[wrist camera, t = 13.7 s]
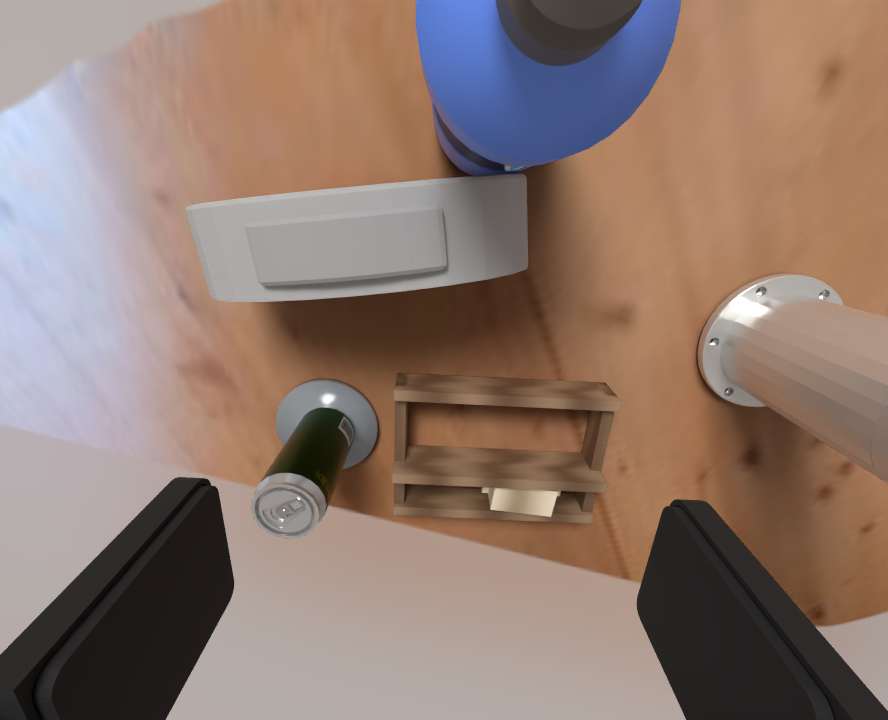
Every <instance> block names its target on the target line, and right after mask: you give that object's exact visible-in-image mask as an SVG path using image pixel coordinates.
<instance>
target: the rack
mask: <svg viewBox="0 0 888 720" xmlns="http://www.w3.org/2000/svg"><path fill="white" fill-rule="evenodd" d="M394 401H395V455H394V466H393V471H392V483H394V506H393V515H407V516H429V517H452V518H474V519H496V520H519V521H541V522H563V523H586V524H592V520H593V514H592V509H593V504H594V500H595V495H596V492H598V493H606V492H607V487H608V483H607V481H606V479H605V477H604V476H603V474H602V472H601V468H602V463H603V459H604V454H605V450H606V445H607V441H608V436H609V432H610V427H611V422H612V418H613V413H614V411H617V412H619V411H620V406H621V402H622V401H621V400H620V399H619V398H618V397H617V396H616V395H615V393H614V392H613V391H612V390H611V389H610V388H609V386H608V385H607V384H606V383H597V382H577V381H556V380H536V379H516V378H495V377H475V376H455V375H434V374H414V373H399V374H398V377H397V381H396V385H395V388H394ZM409 401H410V402H431V403H451V404H472V405H493V406H514V407H534V408H555V409H576V410H590V411H589V416H588V421H587V426H586V431H585V437H584V442H583V447H582V452H581V453H571V452H550V451H528V450H507V449H486V448H465V447H443V446H422V445H408V403H409ZM407 484H423V485H445V486H467V487H489V488H511V489H533V490H555V491H574V492H573V493H572V492H561V493H560V496H557V498H556V501H555V505H554V508H553V512H552V515H551V517H548V516H539V515H531V514H522V513H514V512H506V511H497V510H490V503H489V496H488V493H482V489H481V488H463V487H441V486H419V485H407Z"/></svg>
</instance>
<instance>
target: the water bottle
mask: <svg viewBox="0 0 888 720" xmlns="http://www.w3.org/2000/svg"><path fill="white" fill-rule="evenodd" d="M680 4H681V0H416V28H417V35H418V42H419V50H420V56H421V62H422V67H423V73H424V77H425V81H426V84H427V87H428V90H429V94H430V97H431V100H432V107H433V115H434V122H435V128H436V133H437V136H438V139H439V143H440V145H441V147H442V149H443V150H444V152H445V154H446V155H447V157H448V158H449V159H450V160H451V162H452V163H453V164H454V165H455V166H457V167H458V168H459V169H460V170H462V171H463V172H465V173H467V174H469V175H471V176H480V175H495V174H514V173H517V172H519V171H522V170H524V169H527V168H529V167H531V166H535V165H542V164H548V163H551V162H553V161H556V160H559V159H562V158H564V157H567V156H570V155H572V154H575V153H578V152H581V151H583V150H586V149H588V148H590V147H592V146H593V145H595V144H597V143H598V142H600V141H601V140H603V139H605V138H606V137H608V136H610V135H611V134H612V133H613V132H614V131H615V130H616V129H618V128H619V127H620V126H621V125H622V124H623V123H624V122H625V121H627V120H628V119H629V118H630V117H631V116H632V114H633V113H634V112H635V111H636V109H637V108H638V107H639V106H640V104H641V103H642V102H643V101H644V99H645V98H646V97H647V96H648V94H649V92H650V91H651V89H652V87H653V85H654V84H655V82H656V80H657V78H658V76H659V75H660V73H661V71H662V69H663V67H664V64H665V62H666V59H667V56H668V54H669V51H670V48H671V46H672V43H673V40H674V36H675V31H676V27H677V22H678V17H679V12H680Z"/></svg>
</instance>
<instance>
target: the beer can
mask: <svg viewBox="0 0 888 720" xmlns="http://www.w3.org/2000/svg"><path fill="white" fill-rule="evenodd" d="M354 435H355V432H354V426H353V424H352V422H351V420H350V419H349V417H348V416H347V415H346V414H345V413H344V412H343V411H341V410H339V409H337V408H333V407H319V408H316V409H313V410H311V411H309V412H308V413H307V414H306V415H304V417H303V418H302V420H301V421H300V423H299V424H298V426H297V427H296V429H295V430H294V432H293V433H292V435H291V436H290V438H289V439H288V441H287V442H286V444H285V445H284V447H283V448H282V450H281V451H280V453H279V454H278V456H277V457H276V459H275V460H274V462H273V463H272V465H271V466H270V468H269V469H268V471H267V472H266V474H265V476H264V477H263V479H262V480H261V482H260V483H259V485H258V487H257V488H256V490H255V496H254V499H253V501H252V507H251V511H252V514H253V517H254V519H255V521H256V522H257V524H258V525H259V526H260V527H261V528H262V529H264V530H265V531H266V532H268V533H270V534H272V535H274V536H277V537H281V538H287V539H289V538H299V537H302V536H305V535H307V534H309V533H310V532H311V531H313V530H314V528H315V527H316V525H317V524H318V523H319V522H320V521H321V519H322V518H323V516H324V515H325V512H326V510H327V507H328V505H329V502H330V500H331V497H332V494H333V492H334V489H335V487H336V484H337V482H338V479H339V477H340V474H341V471H342V469H343V466H344V464H345V461H346V459H347V456H348V454H349V451H350V448H351V446H352V443H353V440H354Z"/></svg>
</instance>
